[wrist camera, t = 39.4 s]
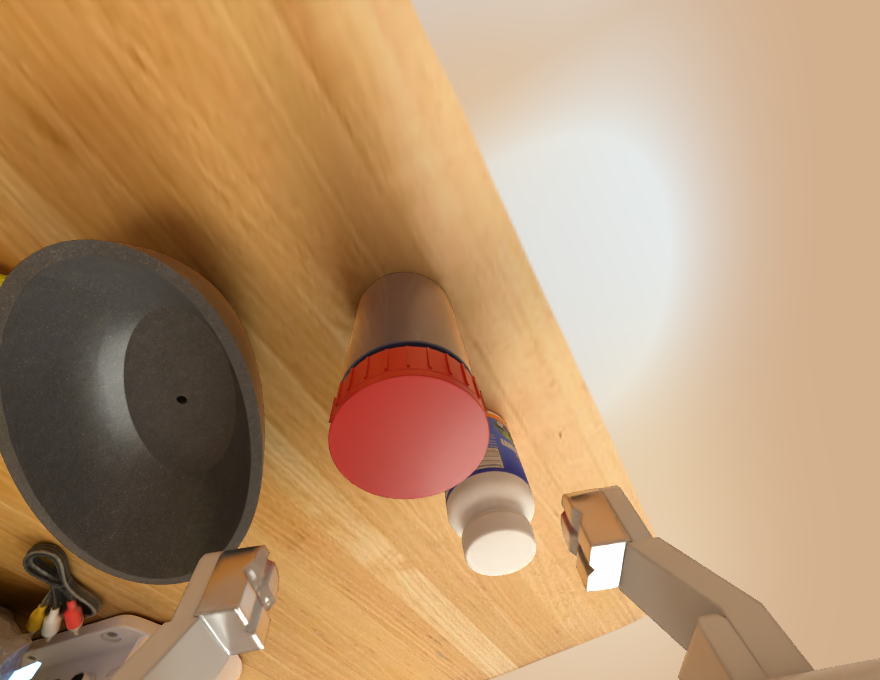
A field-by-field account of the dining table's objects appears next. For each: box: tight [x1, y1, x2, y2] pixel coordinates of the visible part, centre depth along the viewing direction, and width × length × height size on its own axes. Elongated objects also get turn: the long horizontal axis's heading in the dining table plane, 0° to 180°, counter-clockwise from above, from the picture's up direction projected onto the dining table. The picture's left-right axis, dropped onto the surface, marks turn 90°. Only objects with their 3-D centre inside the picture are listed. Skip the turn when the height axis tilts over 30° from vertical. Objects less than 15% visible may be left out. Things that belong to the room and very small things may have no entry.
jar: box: [341, 272, 473, 382], centre depth 20 cm, size 6×6×11 cm
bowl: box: [0, 240, 265, 585], centre depth 23 cm, size 12×22×6 cm, turn 167°
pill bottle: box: [445, 410, 536, 576], centre depth 26 cm, size 5×5×10 cm
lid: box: [328, 346, 490, 499], centre depth 16 cm, size 6×6×2 cm
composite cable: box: [23, 544, 102, 642], centre depth 32 cm, size 10×5×2 cm, turn 163°
